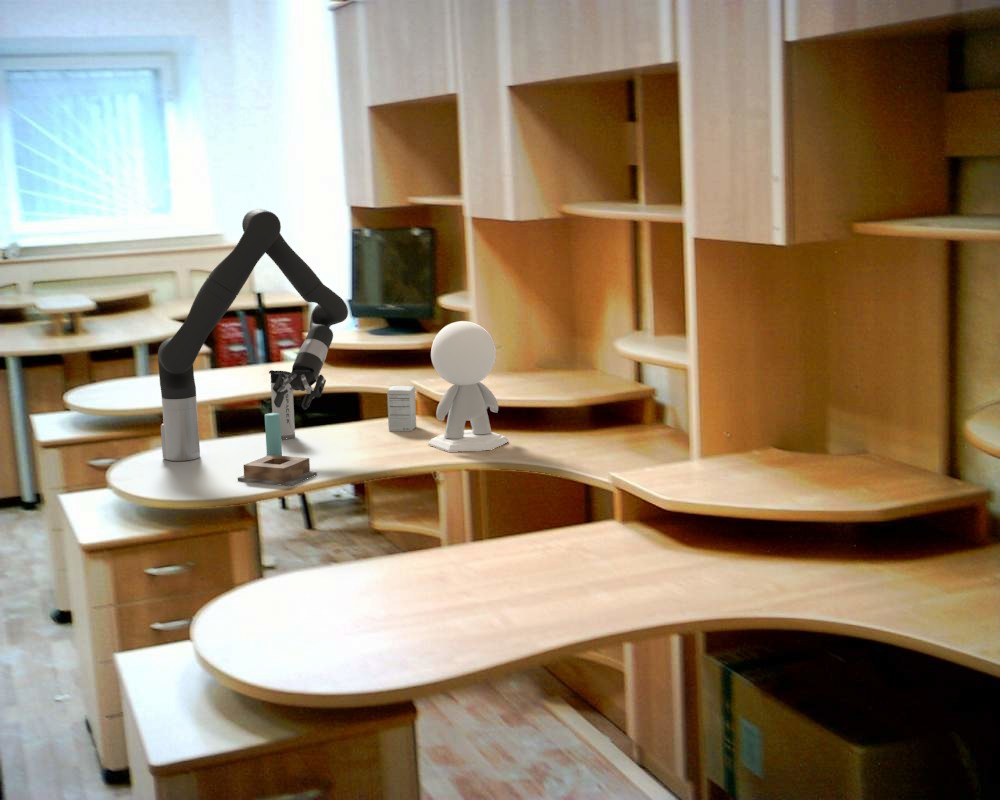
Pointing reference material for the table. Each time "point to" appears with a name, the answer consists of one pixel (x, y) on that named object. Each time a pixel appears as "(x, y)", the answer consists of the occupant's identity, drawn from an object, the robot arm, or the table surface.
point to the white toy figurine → (465, 387)
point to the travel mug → (284, 408)
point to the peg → (273, 434)
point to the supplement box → (401, 408)
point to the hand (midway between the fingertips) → (290, 406)
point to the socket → (277, 470)
